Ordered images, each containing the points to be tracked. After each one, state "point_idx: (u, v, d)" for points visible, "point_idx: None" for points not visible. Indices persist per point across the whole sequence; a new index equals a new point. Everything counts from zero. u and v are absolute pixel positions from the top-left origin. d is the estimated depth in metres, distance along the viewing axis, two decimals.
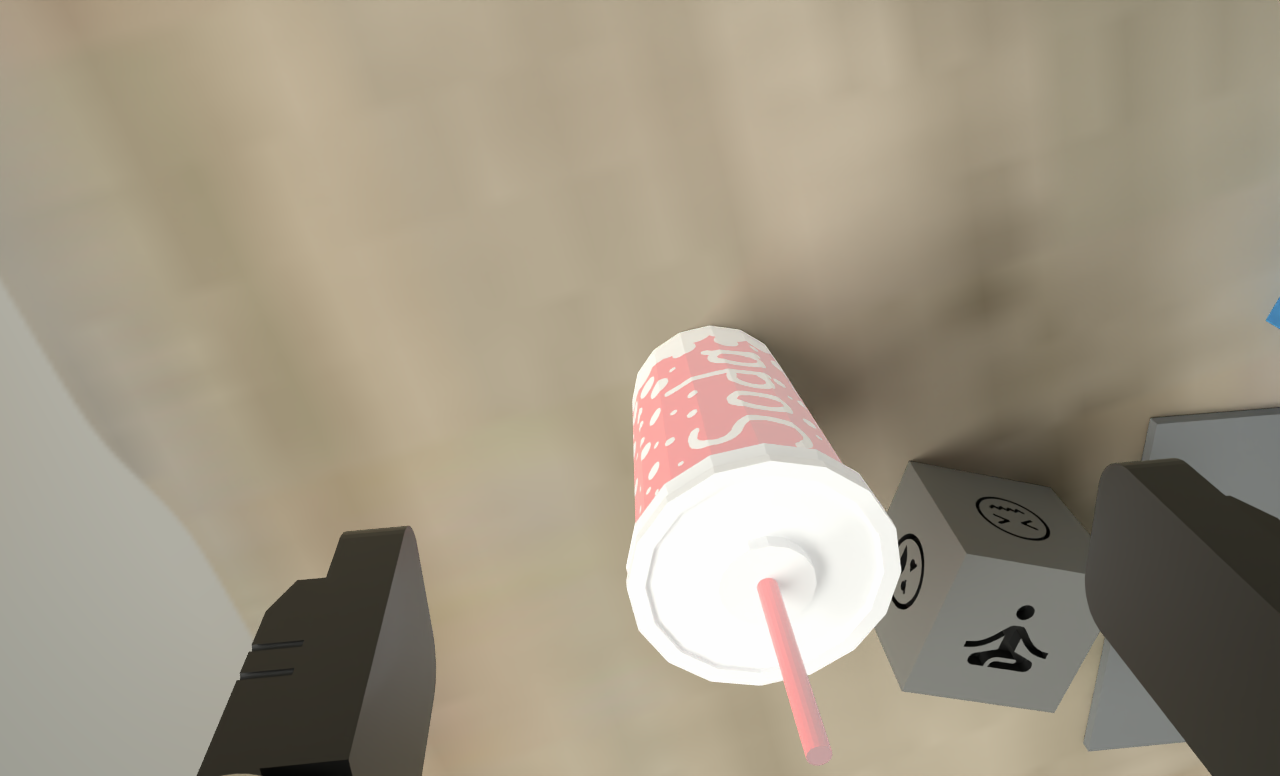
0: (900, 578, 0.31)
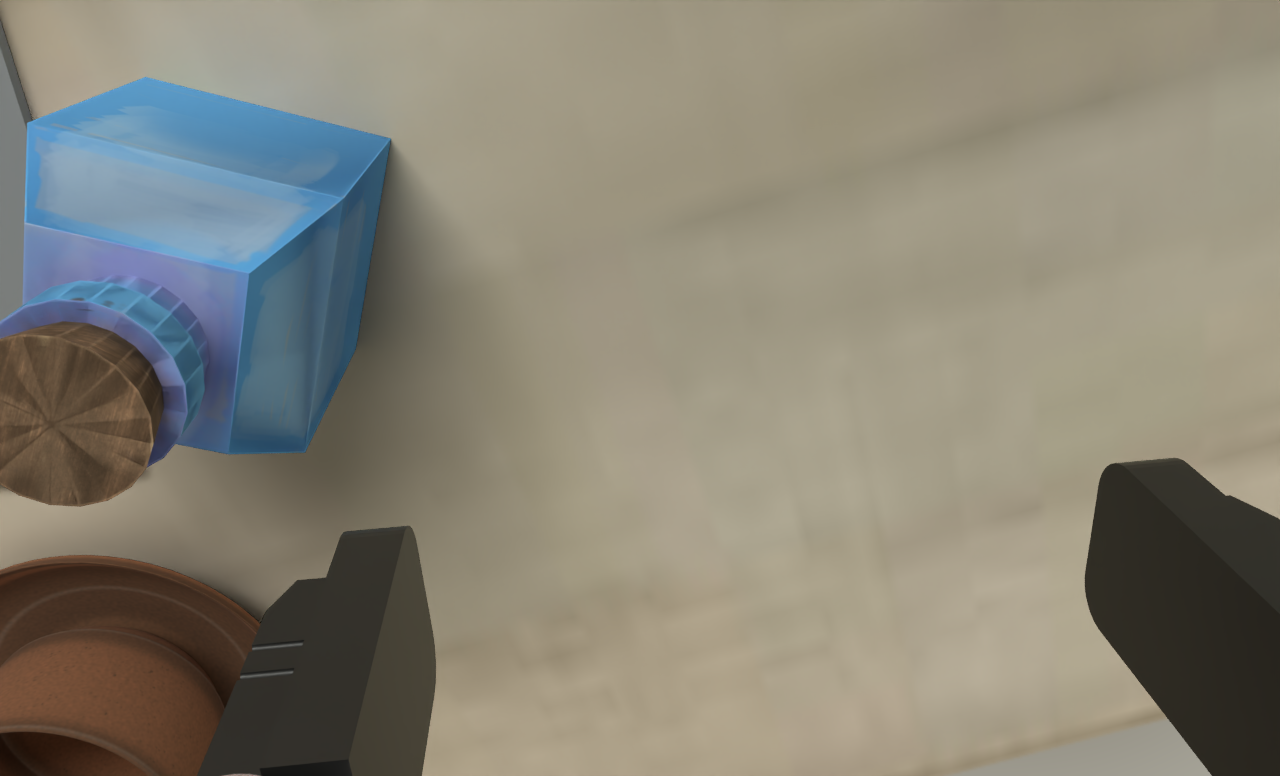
0: None
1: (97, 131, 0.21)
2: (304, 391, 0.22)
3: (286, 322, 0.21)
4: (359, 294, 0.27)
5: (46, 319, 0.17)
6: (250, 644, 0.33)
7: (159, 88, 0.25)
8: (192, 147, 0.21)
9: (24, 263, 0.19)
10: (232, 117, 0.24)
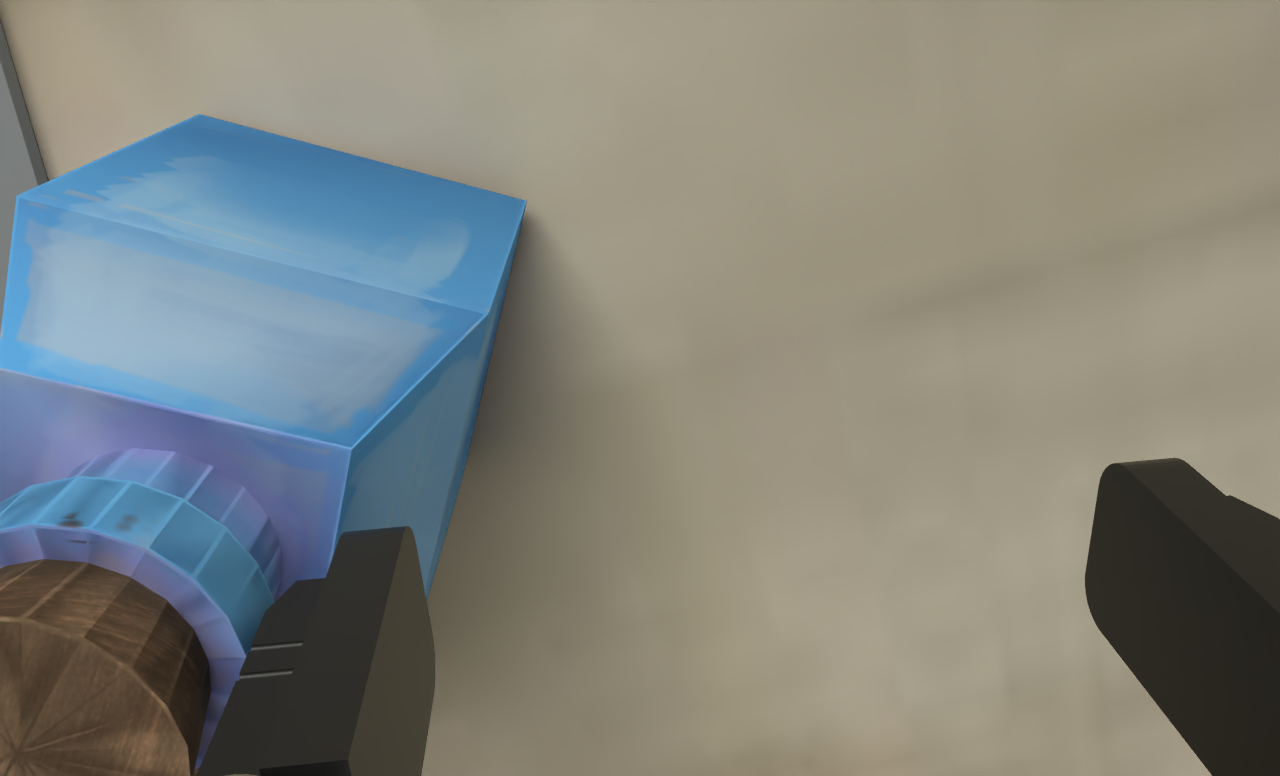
0: None
1: (122, 206, 0.14)
2: None
3: (399, 502, 0.14)
4: (476, 410, 0.20)
5: (15, 556, 0.10)
6: None
7: (216, 131, 0.18)
8: (263, 229, 0.14)
9: None
10: (316, 174, 0.17)
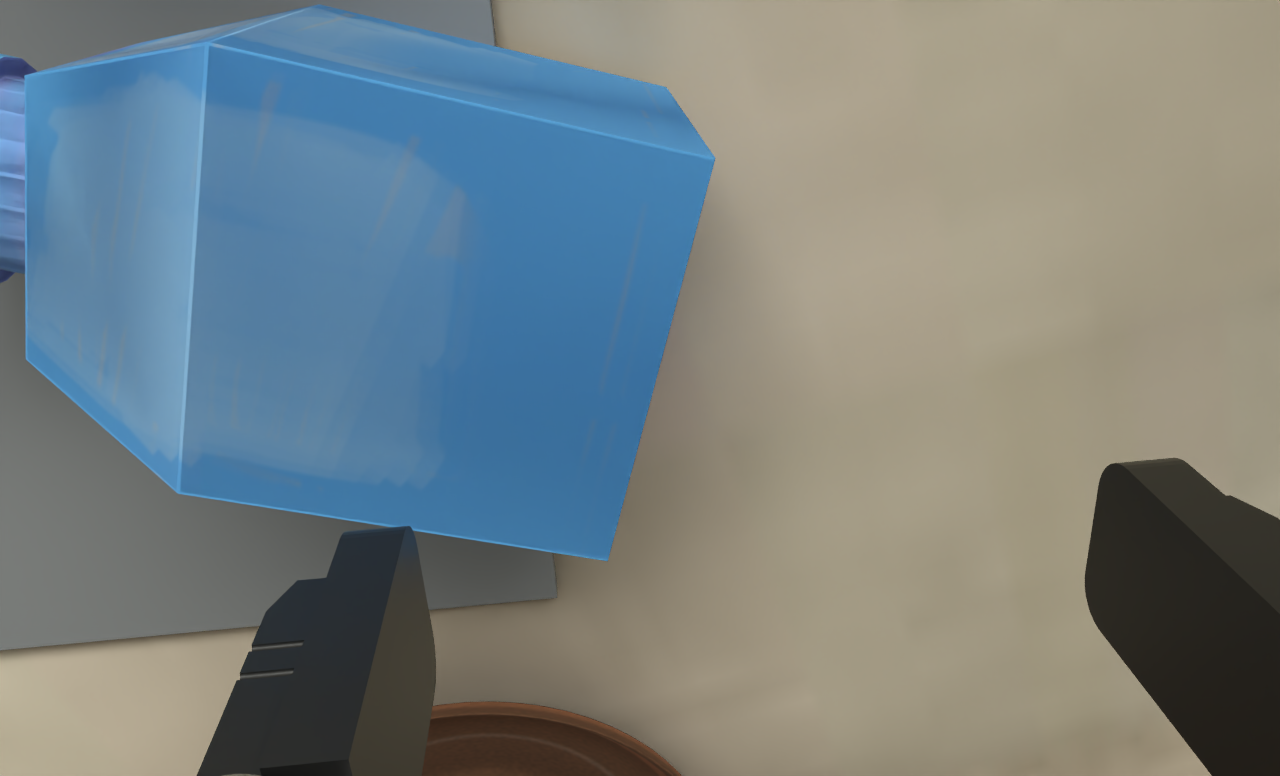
0: None
1: (338, 16, 0.16)
2: (162, 373, 0.14)
3: (107, 211, 0.13)
4: (561, 423, 0.14)
5: None
6: None
7: (624, 81, 0.18)
8: (348, 34, 0.15)
9: None
10: (567, 84, 0.16)
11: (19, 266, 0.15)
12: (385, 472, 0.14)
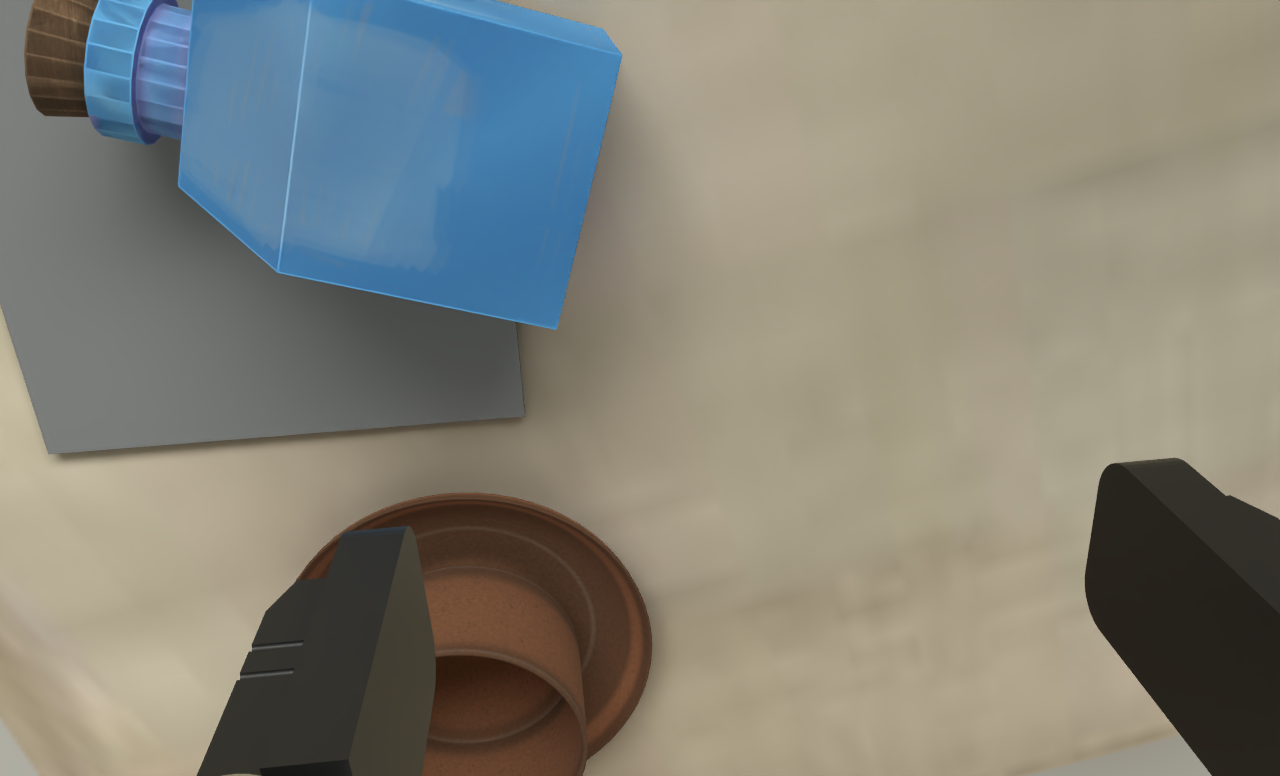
0: None
1: None
2: (272, 189, 0.21)
3: (242, 82, 0.21)
4: (526, 230, 0.22)
5: None
6: (598, 587, 0.33)
7: (573, 22, 0.26)
8: None
9: None
10: (533, 18, 0.24)
11: (170, 128, 0.23)
12: (412, 261, 0.22)
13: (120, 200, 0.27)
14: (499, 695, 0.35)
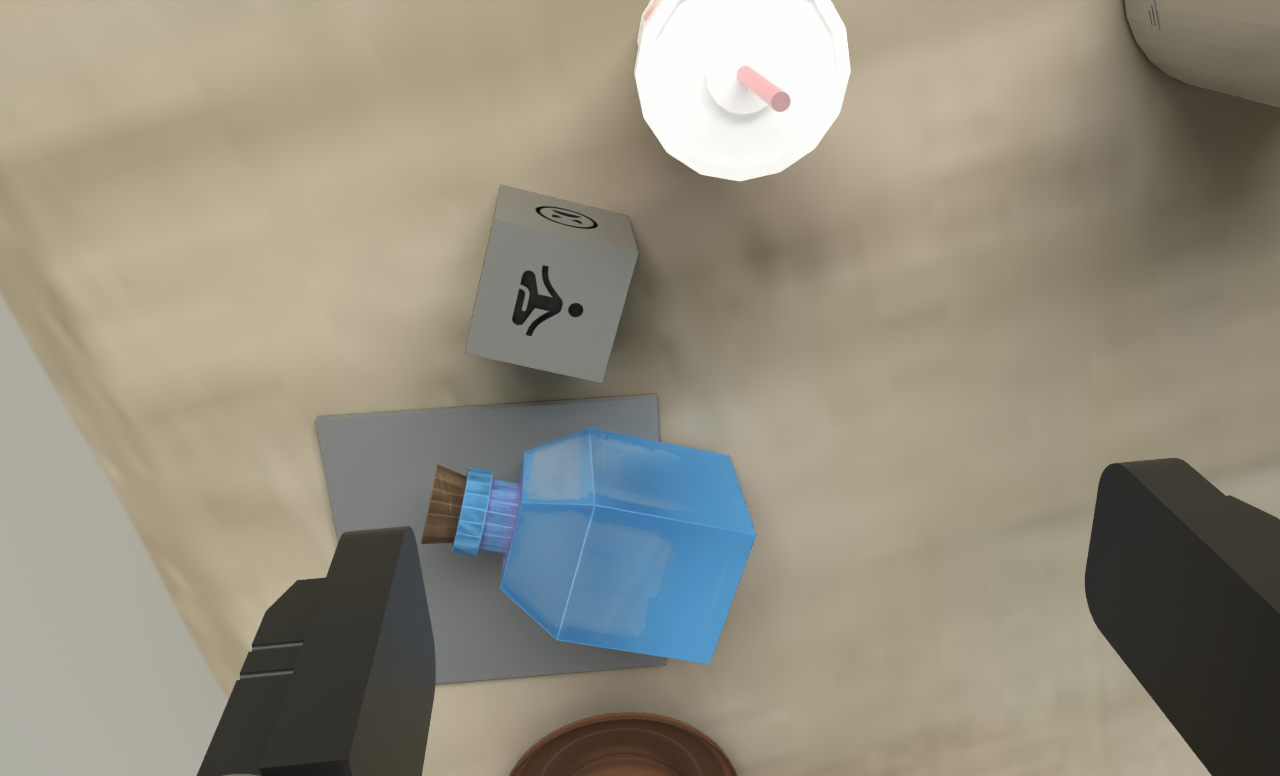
0: (556, 214, 0.36)
1: (602, 442, 0.41)
2: (558, 599, 0.38)
3: (546, 547, 0.38)
4: (696, 616, 0.39)
5: (467, 474, 0.40)
6: (707, 764, 0.50)
7: (713, 458, 0.43)
8: (616, 465, 0.40)
9: (520, 468, 0.41)
10: (696, 478, 0.41)
11: (493, 551, 0.40)
12: (631, 633, 0.39)
13: (430, 550, 0.44)
14: None
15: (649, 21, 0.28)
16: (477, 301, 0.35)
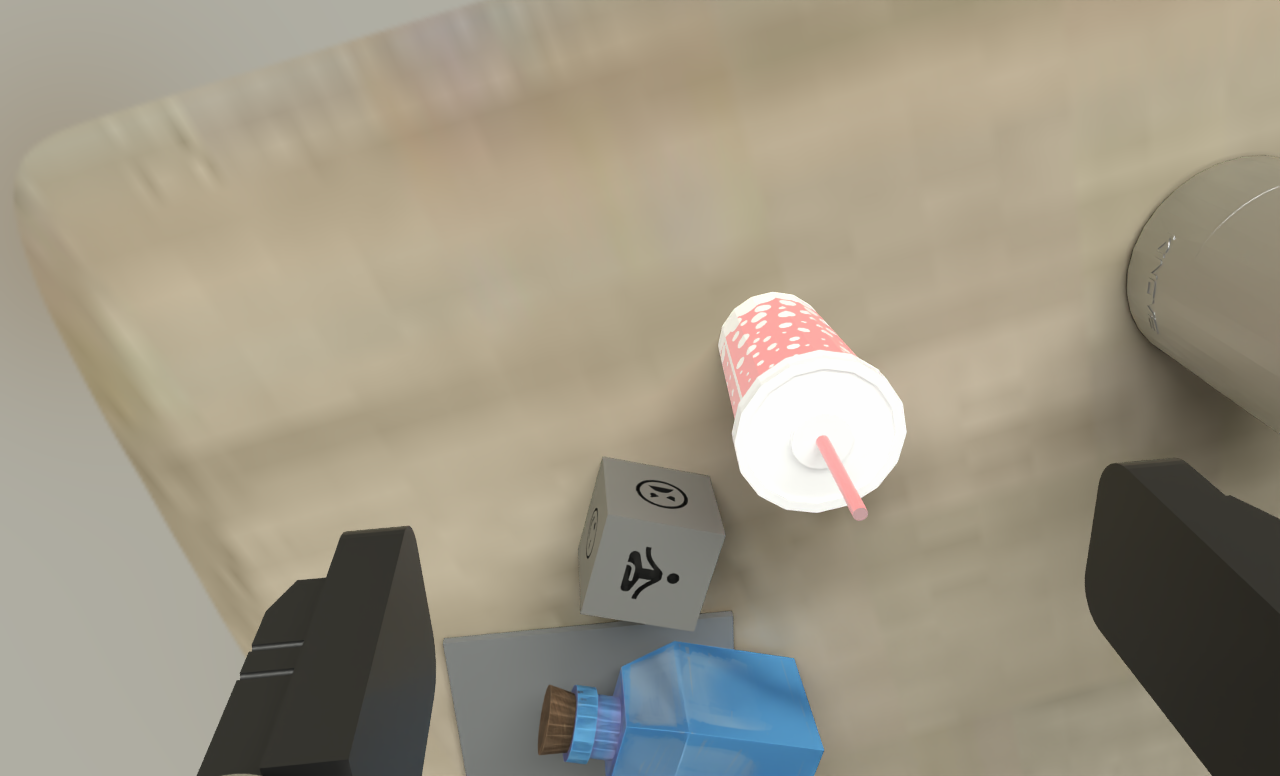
0: (653, 491, 0.43)
1: (687, 657, 0.48)
2: None
3: (647, 762, 0.45)
4: None
5: (575, 692, 0.47)
6: None
7: (781, 664, 0.50)
8: (701, 683, 0.47)
9: None
10: (769, 690, 0.48)
11: None
12: None
13: (537, 741, 0.51)
14: None
15: (746, 406, 0.35)
16: (592, 575, 0.42)
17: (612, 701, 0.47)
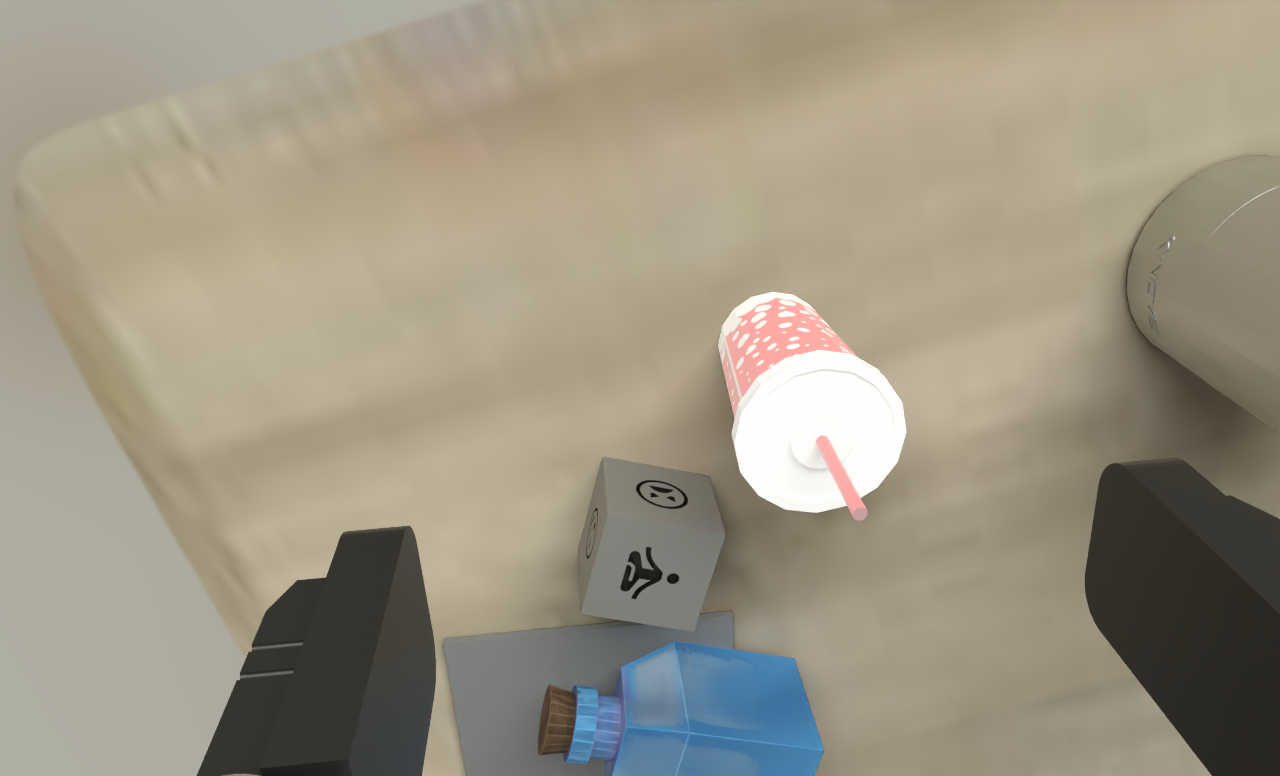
0: (653, 491, 0.43)
1: (687, 657, 0.48)
2: None
3: (647, 762, 0.45)
4: None
5: (575, 692, 0.47)
6: None
7: (781, 664, 0.50)
8: (701, 683, 0.47)
9: None
10: (769, 690, 0.48)
11: (599, 759, 0.47)
12: None
13: (537, 741, 0.51)
14: None
15: (746, 406, 0.35)
16: (592, 575, 0.42)
17: (612, 701, 0.47)
